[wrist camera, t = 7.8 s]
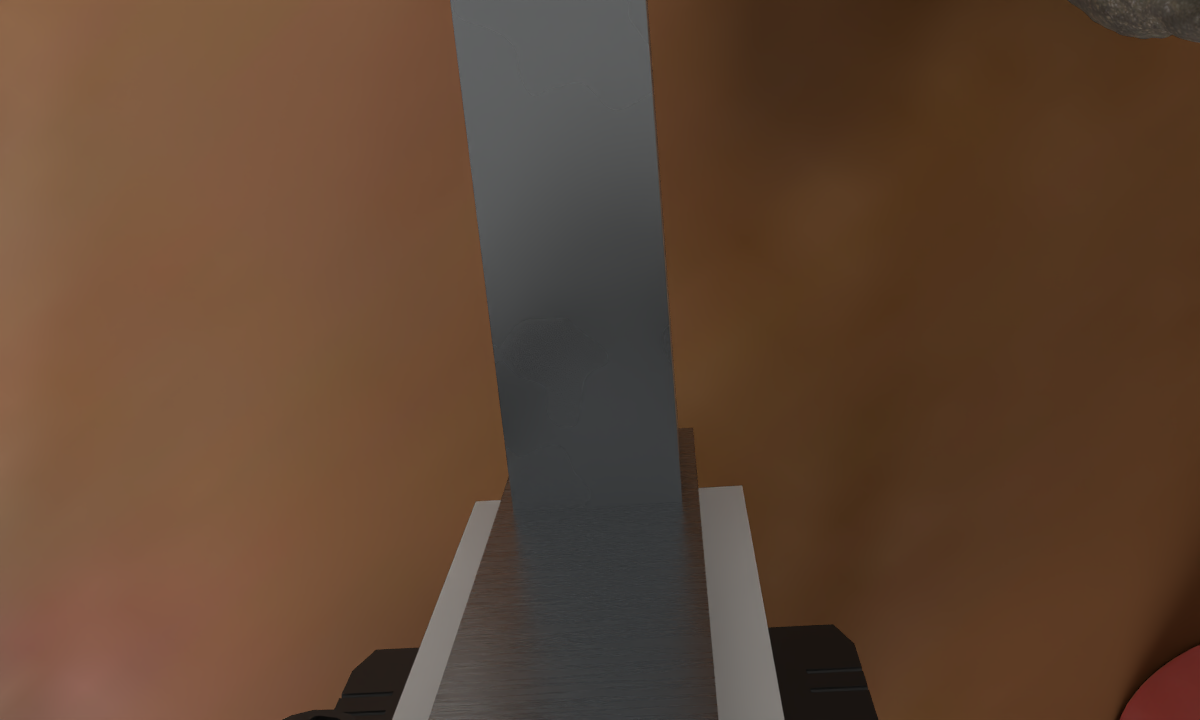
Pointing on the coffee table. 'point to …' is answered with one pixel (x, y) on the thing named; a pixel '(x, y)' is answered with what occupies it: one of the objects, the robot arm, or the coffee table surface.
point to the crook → (578, 382)
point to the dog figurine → (1146, 17)
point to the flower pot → (1169, 691)
